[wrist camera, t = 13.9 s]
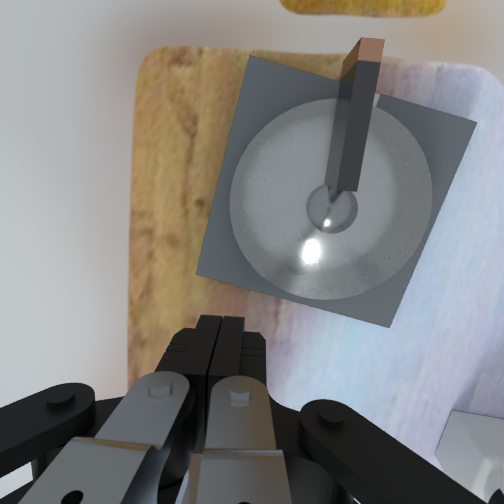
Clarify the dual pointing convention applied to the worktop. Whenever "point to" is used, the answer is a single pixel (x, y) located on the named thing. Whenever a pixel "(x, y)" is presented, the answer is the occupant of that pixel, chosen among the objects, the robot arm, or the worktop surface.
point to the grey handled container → (474, 454)
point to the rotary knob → (332, 191)
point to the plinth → (276, 103)
